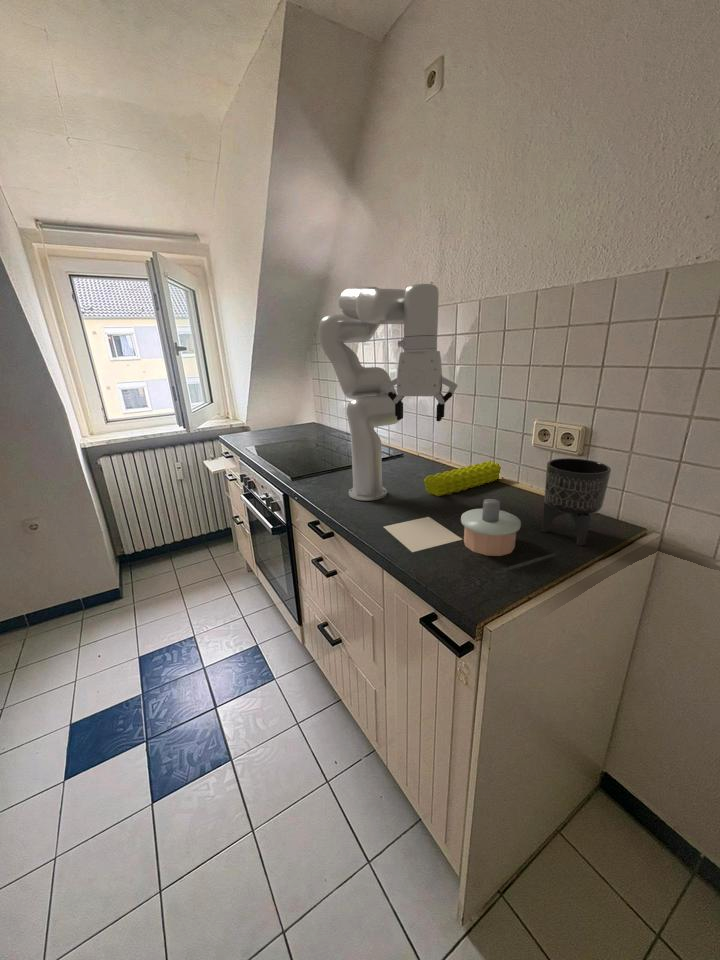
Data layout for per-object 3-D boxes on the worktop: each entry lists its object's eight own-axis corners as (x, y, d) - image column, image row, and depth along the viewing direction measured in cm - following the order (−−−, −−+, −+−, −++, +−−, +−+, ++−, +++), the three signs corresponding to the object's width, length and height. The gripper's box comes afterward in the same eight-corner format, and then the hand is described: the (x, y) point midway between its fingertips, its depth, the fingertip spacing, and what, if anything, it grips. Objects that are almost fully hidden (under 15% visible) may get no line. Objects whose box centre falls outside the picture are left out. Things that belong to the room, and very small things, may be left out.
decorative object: (421, 494, 122) (421, 474, 120) (490, 476, 139) (492, 457, 137) (436, 501, 116) (437, 479, 114) (507, 480, 133) (509, 461, 131)
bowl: (454, 541, 91) (455, 518, 89) (490, 531, 95) (492, 510, 93) (485, 562, 82) (487, 537, 80) (524, 551, 86) (527, 527, 84)
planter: (611, 545, 87) (625, 472, 81) (557, 549, 86) (568, 475, 80) (576, 521, 99) (586, 456, 93) (528, 525, 98) (536, 459, 93)
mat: (383, 528, 99) (383, 526, 99) (428, 518, 104) (428, 516, 104) (412, 554, 86) (412, 552, 86) (462, 541, 91) (462, 539, 91)
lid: (449, 517, 90) (450, 497, 88) (492, 507, 95) (494, 488, 93) (486, 540, 79) (488, 517, 77) (533, 527, 83) (536, 506, 82)
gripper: (379, 346, 86) (380, 421, 91) (456, 343, 79) (452, 423, 85) (389, 346, 92) (389, 416, 98) (461, 343, 86) (457, 418, 91)
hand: (419, 419), depth 91 cm, fingers open, 9 cm apart
